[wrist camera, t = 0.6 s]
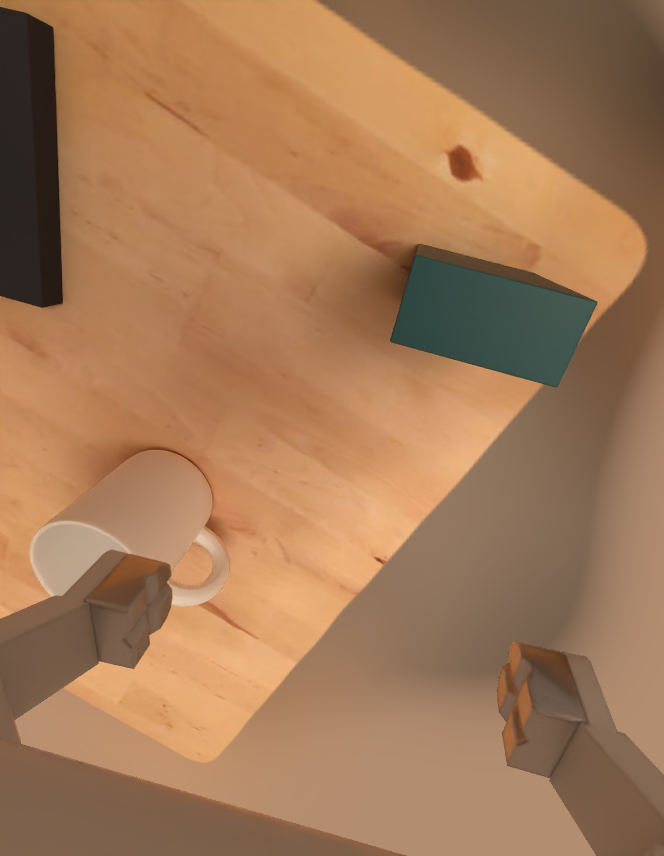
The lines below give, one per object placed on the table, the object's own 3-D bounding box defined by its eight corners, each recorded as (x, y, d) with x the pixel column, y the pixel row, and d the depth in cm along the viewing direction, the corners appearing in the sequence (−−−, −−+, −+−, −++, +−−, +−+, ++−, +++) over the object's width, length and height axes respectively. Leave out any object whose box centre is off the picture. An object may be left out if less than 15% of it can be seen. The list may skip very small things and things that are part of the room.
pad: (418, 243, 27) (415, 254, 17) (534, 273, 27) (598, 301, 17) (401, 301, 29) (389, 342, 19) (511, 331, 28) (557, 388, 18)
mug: (271, 509, 37) (221, 604, 28) (226, 569, 41) (168, 671, 32) (145, 426, 36) (49, 496, 27) (110, 495, 40) (15, 578, 30)
